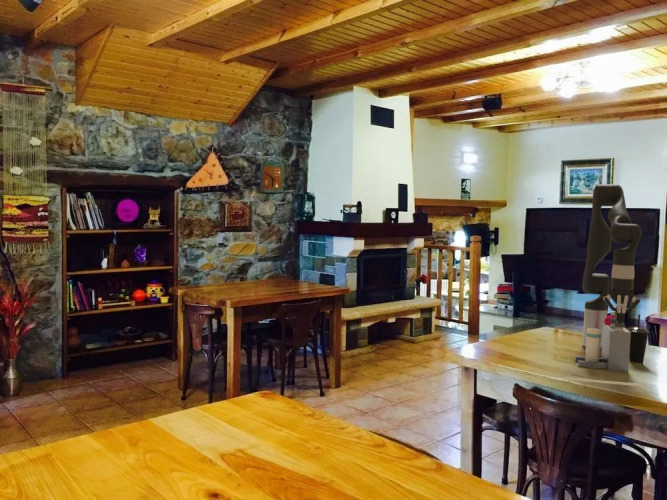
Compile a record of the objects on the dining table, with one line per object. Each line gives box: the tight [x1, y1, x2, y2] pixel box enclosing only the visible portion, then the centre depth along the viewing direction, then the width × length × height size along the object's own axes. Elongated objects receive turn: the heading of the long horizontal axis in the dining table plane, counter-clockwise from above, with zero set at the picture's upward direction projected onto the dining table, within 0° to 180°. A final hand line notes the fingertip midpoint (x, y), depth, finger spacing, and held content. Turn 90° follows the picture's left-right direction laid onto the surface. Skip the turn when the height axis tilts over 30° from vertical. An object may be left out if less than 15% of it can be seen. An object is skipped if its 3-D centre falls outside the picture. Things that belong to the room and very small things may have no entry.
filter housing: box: [574, 325, 631, 373], centre depth 217 cm, size 12×17×16 cm
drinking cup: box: [627, 314, 650, 365], centre depth 226 cm, size 8×8×20 cm
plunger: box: [610, 318, 617, 327], centre depth 219 cm, size 3×3×6 cm
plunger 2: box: [615, 321, 625, 332], centre depth 212 cm, size 3×3×6 cm
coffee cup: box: [584, 328, 601, 362], centre depth 218 cm, size 5×5×14 cm
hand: (619, 322), depth 211 cm, fingers closed
